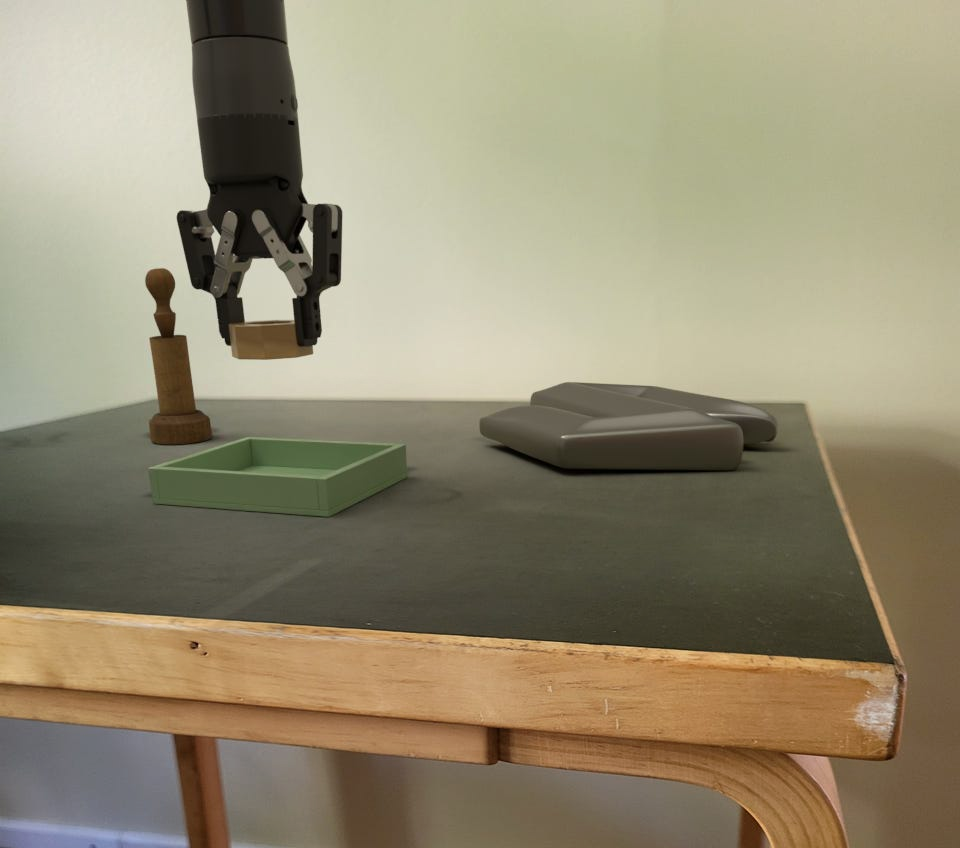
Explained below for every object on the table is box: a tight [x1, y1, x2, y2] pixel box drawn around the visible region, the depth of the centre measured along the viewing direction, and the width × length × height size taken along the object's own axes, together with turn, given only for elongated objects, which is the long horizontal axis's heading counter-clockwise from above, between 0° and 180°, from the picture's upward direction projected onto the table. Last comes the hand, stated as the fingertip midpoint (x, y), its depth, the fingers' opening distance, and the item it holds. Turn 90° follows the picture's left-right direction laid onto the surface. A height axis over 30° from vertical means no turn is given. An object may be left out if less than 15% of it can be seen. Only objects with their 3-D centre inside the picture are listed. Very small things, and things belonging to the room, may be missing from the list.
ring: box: [229, 319, 314, 361], centre depth 79 cm, size 6×6×3 cm
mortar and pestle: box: [144, 267, 213, 446], centre depth 106 cm, size 7×6×18 cm
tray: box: [147, 436, 408, 518], centre depth 83 cm, size 17×15×3 cm
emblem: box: [478, 381, 779, 472], centre depth 97 cm, size 28×5×28 cm
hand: (271, 344), depth 79 cm, fingers closed on ring, 6 cm apart
